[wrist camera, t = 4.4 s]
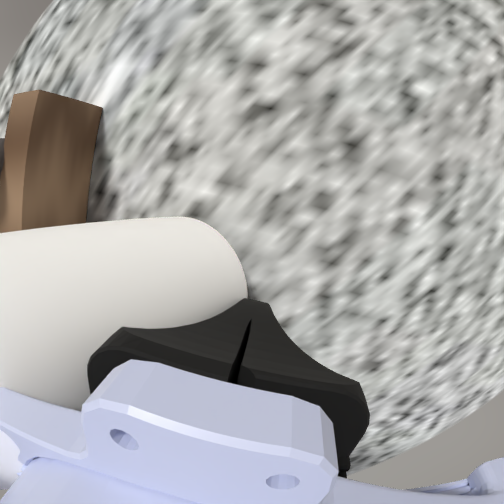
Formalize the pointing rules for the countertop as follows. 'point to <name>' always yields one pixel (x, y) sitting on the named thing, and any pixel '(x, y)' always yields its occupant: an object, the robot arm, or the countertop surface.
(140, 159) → the countertop surface
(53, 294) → the can
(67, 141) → the rail
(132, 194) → the countertop surface
